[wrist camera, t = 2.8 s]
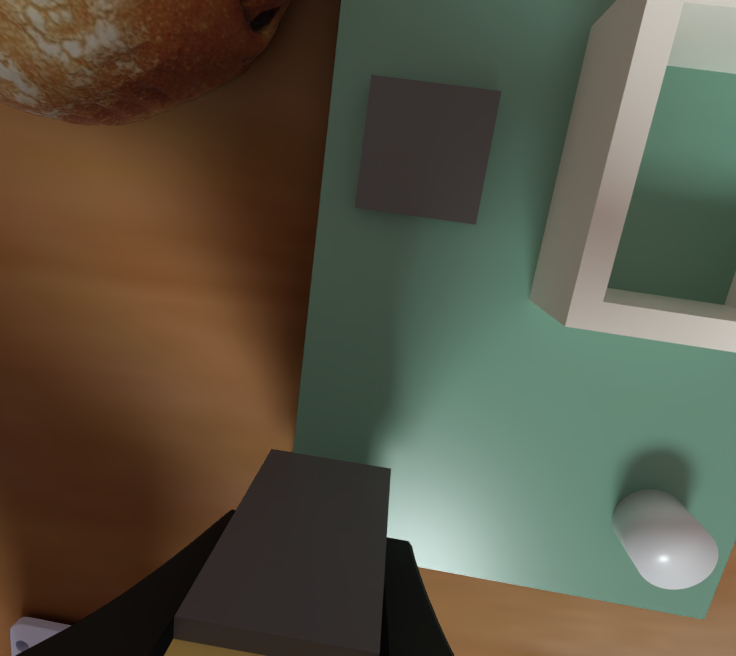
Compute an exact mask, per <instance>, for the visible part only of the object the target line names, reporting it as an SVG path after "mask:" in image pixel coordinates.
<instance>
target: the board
mask: <svg viewBox="0 0 736 656" xmlns="http://www.w3.org/2000/svg"><path fill="white" fill-rule="evenodd" d="M615 1H616V0H341V7H340V17H339V26H338V35H337V45H336V54H335V64H334V73H333V82H332V92H331V101H330V110H329V120H328V129H327V139H326V148H325V157H324V167H323V176H322V185H321V195H320V204H319V213H318V223H317V232H316V242H315V251H314V260H313V270H312V279H311V288H310V298H309V307H308V316H307V326H306V335H305V345H304V354H303V363H302V373H301V382H300V391H299V401H298V410H297V419H296V429H295V438H294V448H293V453H298V454H305V455H311V456H317V457H323V458H329V459H335V460H342V461H348V462H354V463H360V464H366V465H372V466H379V467H385V468H391V477H390V493H389V509H388V525H387V537H388V538H394V539H400V540H405V541H409V542H410V544H411V545H412V547H413V552H414V556H415V560H416V563H417V566H418V567H422V568H427V569H433V570H438V571H444V572H449V573H454V574H460V575H465V576H471V577H476V578H482V579H487V580H492V581H498V582H503V583H509V584H514V585H519V586H525V587H530V588H536V589H541V590H547V591H552V592H557V593H563V594H568V595H574V596H579V597H584V598H590V599H595V600H601V601H606V602H611V603H617V604H622V605H628V606H633V607H639V608H644V609H649V610H655V611H660V612H666V613H671V614H676V615H682V616H687V617H693V618H698V619H705V616H706V614H707V611H708V608H709V606H710V603H711V601H712V598H713V596H714V593H715V591H716V588H717V586H718V583H719V581H720V578H721V576H722V573H723V571H724V568H725V565H726V563H727V560H728V558H729V555H730V553H731V550H732V548H733V545H734V543H735V540H736V353H735V352H729V351H722V350H716V349H709V348H703V347H696V346H689V345H683V344H676V343H670V342H663V341H657V340H650V339H644V338H637V337H630V336H624V335H617V334H611V333H604V332H598V331H591V330H585V329H578V328H571V327H565V326H564V325H562V324H561V323H560V322H558V321H557V320H556V319H554V318H553V317H552V316H550V315H549V314H548V313H546V312H545V311H544V310H542V309H541V308H540V307H538V306H537V305H536V304H534V303H533V302H532V301H530V300H529V297H530V292H531V288H532V284H533V279H534V275H535V270H536V266H537V262H538V257H539V253H540V249H541V244H542V240H543V235H544V231H545V227H546V222H547V218H548V213H549V209H550V205H551V200H552V196H553V192H554V187H555V183H556V178H557V174H558V170H559V165H560V161H561V157H562V152H563V148H564V143H565V139H566V135H567V130H568V126H569V122H570V117H571V113H572V108H573V104H574V100H575V95H576V91H577V86H578V82H579V78H580V73H581V69H582V65H583V60H584V56H585V51H586V47H587V43H588V38H589V34H590V30H591V26H592V25H593V24H594V23H595V22H596V21H597V20H598V19H599V18H600V17H601V16H602V15H603V14H604V13H605V12H606V11H607V10H608V9H609V8H610V7H611V5H612V4H613V3H614V2H615ZM735 272H736V74H733V73H725V72H716V71H708V70H700V69H691V68H683V67H675V66H667V67H666V71H665V74H664V78H663V82H662V85H661V89H660V93H659V97H658V100H657V104H656V108H655V111H654V115H653V119H652V123H651V126H650V130H649V134H648V137H647V141H646V145H645V149H644V152H643V156H642V160H641V163H640V167H639V171H638V174H637V178H636V182H635V186H634V189H633V193H632V197H631V200H630V204H629V208H628V212H627V215H626V219H625V223H624V226H623V230H622V234H621V237H620V241H619V245H618V249H617V252H616V256H615V260H614V263H613V267H612V271H611V275H610V278H609V282H608V286H607V288H612V289H619V290H626V291H632V292H639V293H646V294H653V295H660V296H666V297H673V298H680V299H687V300H694V301H700V302H707V303H714V304H721V305H724V304H725V301H726V298H727V296H728V293H729V290H730V287H731V284H732V281H733V278H734V275H735Z"/></svg>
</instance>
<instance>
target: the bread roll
mask: <svg viewBox="0 0 736 656" xmlns="http://www.w3.org/2000/svg"><path fill="white" fill-rule="evenodd" d="M290 2H291V0H0V102H2V103H5V104H7V105H10V106H12V107H15V108H17V109H20V110H22V111H25V112H27V113H31V114H34V115H38V116H43V117H47V118H51V119H56V120H60V121H65V122H69V123H74V124H83V125H99V124H105V125H121V124H127V123H132V122H137V121H140V120H143V119H148V118H150V117H152V116H154V115H156V114H157V113H160V112H166V111H171V110H172V109H173V108H174V107H176V106H177V105H178V104H180V103H184V102H188V101H192V100H194V99H196V98H198V97H200V96H201V95H203V94H205V93H207V92H208V91H210V90H213V89H215V88H217V87H219V86H221V85H223V84H225V83H226V82H227V81H230V80H231V79H233V78H235V77H236V76H238V75H239V74H241V73H243V72H244V71H246V70H247V69H248V68H249V66H250V65H251V63H252V62H253V60H254V59H255V58H256V57H257V56H258V55H259V54H260V53H261V52H262V51H264V50H265V49H266V48H267V46H268V44H269V43H270V41H271V39H272V38H273V36H274V35H275V32H276V30H277V27H278V25H279V23H280V21H281V19H282V17H283V15H284V13H285V11H286V9H287V7H288V6H289V4H290Z"/></svg>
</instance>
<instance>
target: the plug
mask: <svg viewBox="0 0 736 656" xmlns="http://www.w3.org/2000/svg"><path fill="white" fill-rule="evenodd" d="M390 477H391V468H385V467H379V466H372V465H366V464H360V463H354V462H348V461H342V460H335V459H329V458H323V457H317V456H311V455H305V454H298V453H292V452H286V451H280V450H274V449H271V451H270V453H269V454H268V456H267V458H266V460H265V461H264V463H263V465H262V466H261V468H260V470H259V472H258V473H257V475H256V477H255V478H254V480H253V482H252V484H251V485H250V487H249V489H248V491H247V492H246V494H245V496H244V497H243V499H242V501H241V503H240V504H239V506H238V508H237V509H236V511H235V513H234V515H233V516H232V518H231V520H230V521H229V523H228V525H227V527H226V528H225V530H224V532H223V534H222V535H221V537H220V539H219V540H218V542H217V544H216V546H215V547H214V549H213V551H212V552H211V554H210V556H209V558H208V559H207V561H206V563H205V564H204V566H203V568H202V570H201V571H200V573H199V575H198V577H197V578H196V580H195V582H194V583H193V585H192V587H191V589H190V590H189V592H188V594H187V595H186V597H185V599H184V601H183V602H182V604H181V606H180V607H179V609H178V611H177V613H176V614H175V616H174V636H173V640H172V642H171V644H170V646H169V648H168V649H167V651H166V653H165V655H164V656H379V654H380V639H381V622H382V606H383V590H384V574H385V558H386V542H387V525H388V509H389V493H390Z"/></svg>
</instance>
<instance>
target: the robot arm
mask: <svg viewBox="0 0 736 656" xmlns="http://www.w3.org/2000/svg"><path fill="white" fill-rule="evenodd" d="M235 511H236V510H231V511H229V512H228V513H226V514H225V515H224V516H223V517H221V518H220V519H219V520H218V521H217V522H216V523H214V524H213V525H212V526H211V527H210V528H208V529H207V530H206V531H205V532H204V533H202V534H201V535H200V536H199V537H198V538H196V539H195V540H194V541H193V542H191V543H190V544H189V545H188V546H186V547H185V548H184V549H183V550H181V551H180V552H179V553H177V554H176V555H175V556H174V557H172V558H171V559H170V560H169V561H167V562H166V563H165V564H163V565H162V566H161V567H159V568H158V569H157V570H155V571H154V572H153V573H151V574H150V575H148V576H147V577H145V578H144V579H143V580H141V581H140V582H138V583H137V584H136V585H134V586H133V587H131V588H130V589H129V590H127V591H126V592H124V593H123V594H121V595H120V596H118V597H117V598H115V599H114V600H112V601H111V602H109V603H108V604H106V605H104V606H103V607H101V608H100V609H98V610H97V611H95V612H93V613H92V614H90V615H88V616H87V617H85V618H83V619H82V620H80V621H78V622H77V623H75V624H73V625H67V624H62V623H57V622H52V621H47V620H42V619H37V618H32V617H22V618H20V619H19V620H18V621H17V622H16V623H15V624H14V625H13V626H12V627H11V629H10V639H11V653H12V656H164V655H165V653H166V651H167V649H168V648H169V646H170V644H171V642H172V640H173V636H174V616H175V614H176V613H177V611H178V609H179V607H180V606H181V604H182V602H183V601H184V599H185V597H186V595H187V594H188V592H189V590H190V589H191V587H192V585H193V583H194V582H195V580H196V578H197V577H198V575H199V573H200V571H201V570H202V568H203V566H204V564H205V563H206V561H207V559H208V558H209V556H210V554H211V552H212V551H213V549H214V547H215V546H216V544H217V542H218V540H219V539H220V537H221V535H222V534H223V532H224V530H225V528H226V527H227V525H228V523H229V521H230V520H231V518H232V516H233V515H234V513H235ZM379 656H454V654H453V652H452V650H451V648H450V646H449V644H448V642H447V640H446V638H445V635H444V633H443V631H442V629H441V626H440V624H439V622H438V619H437V617H436V615H435V612H434V610H433V607H432V605H431V603H430V600H429V598H428V595H427V592H426V590H425V587H424V584H423V581H422V578H421V576H420V573H419V569H418V566H417V563H416V560H415V556H414V552H413V547H412V545H411V544H410V542H409V541H405V540H400V539H394V538H388V537H387V542H386V558H385V574H384V590H383V606H382V622H381V639H380V654H379Z"/></svg>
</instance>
